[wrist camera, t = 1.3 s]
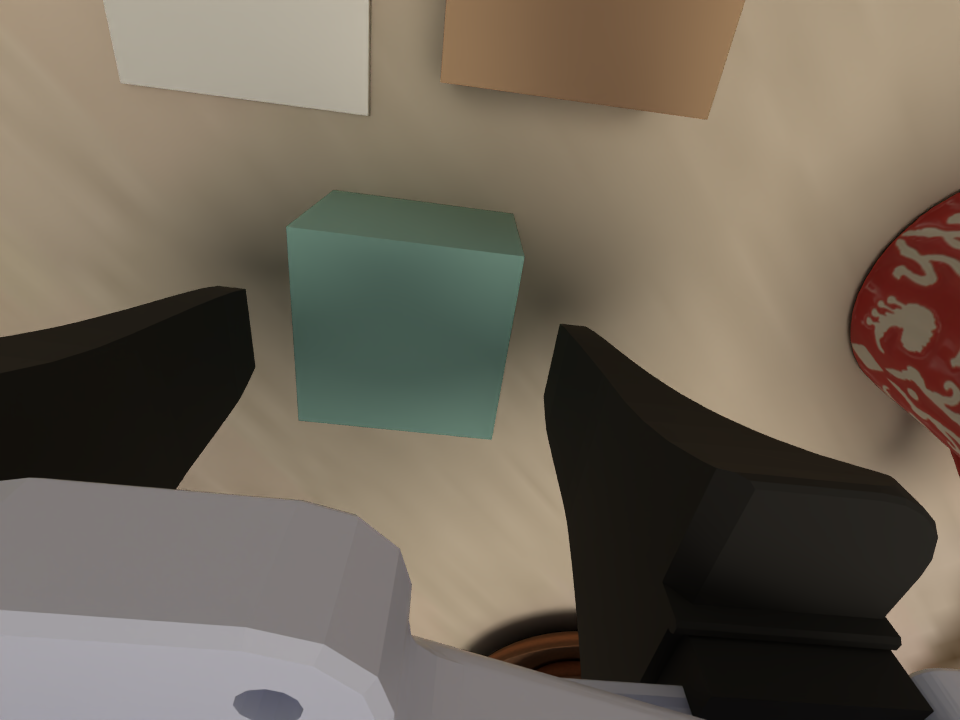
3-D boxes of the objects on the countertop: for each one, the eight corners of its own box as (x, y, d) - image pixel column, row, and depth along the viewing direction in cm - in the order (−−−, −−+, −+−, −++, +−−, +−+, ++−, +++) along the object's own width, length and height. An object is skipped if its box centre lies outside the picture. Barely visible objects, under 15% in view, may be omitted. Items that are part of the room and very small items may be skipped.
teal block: (336, 346, 16) (298, 420, 13) (334, 188, 14) (286, 226, 10) (488, 363, 16) (491, 439, 13) (512, 212, 14) (524, 256, 10)
